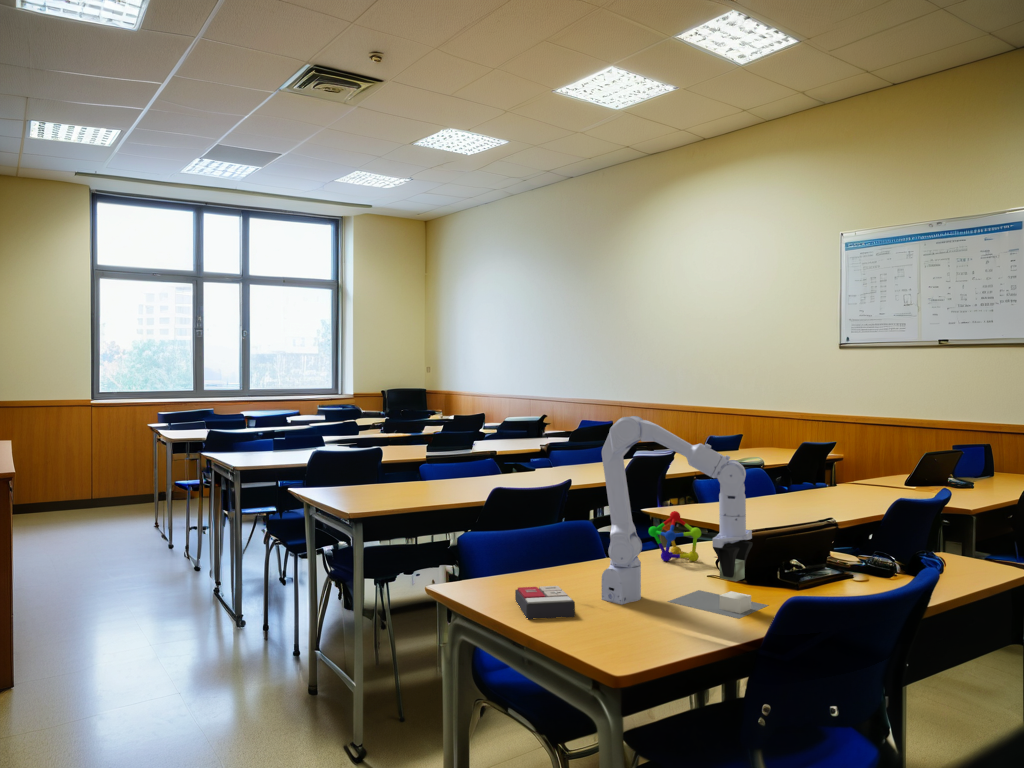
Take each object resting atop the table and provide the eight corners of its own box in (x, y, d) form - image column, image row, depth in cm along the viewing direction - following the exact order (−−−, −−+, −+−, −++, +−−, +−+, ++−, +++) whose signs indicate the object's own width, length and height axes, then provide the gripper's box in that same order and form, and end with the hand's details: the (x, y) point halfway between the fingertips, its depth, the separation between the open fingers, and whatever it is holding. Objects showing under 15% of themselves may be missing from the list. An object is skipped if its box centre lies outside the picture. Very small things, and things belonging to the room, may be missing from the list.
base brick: (740, 613, 157) (740, 599, 157) (719, 608, 160) (719, 595, 160) (751, 608, 160) (751, 595, 160) (730, 604, 164) (730, 591, 164)
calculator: (559, 584, 173) (575, 598, 158) (559, 602, 172) (575, 618, 158) (514, 586, 171) (526, 600, 156) (515, 604, 170) (526, 620, 156)
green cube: (736, 581, 158) (735, 563, 158) (719, 578, 161) (719, 560, 161) (744, 578, 161) (744, 560, 161) (728, 575, 164) (728, 557, 164)
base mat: (739, 623, 153) (738, 618, 153) (667, 605, 166) (667, 601, 166) (768, 609, 163) (768, 605, 163) (698, 594, 176) (698, 590, 176)
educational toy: (642, 563, 213) (639, 512, 215) (671, 557, 221) (667, 508, 222) (683, 567, 201) (679, 514, 202) (712, 561, 209) (708, 509, 210)
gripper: (733, 520, 153) (733, 584, 153) (764, 512, 163) (764, 572, 163) (703, 516, 158) (704, 578, 158) (735, 509, 168) (736, 567, 168)
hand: (733, 574), depth 161 cm, fingers closed on green cube, 4 cm apart
